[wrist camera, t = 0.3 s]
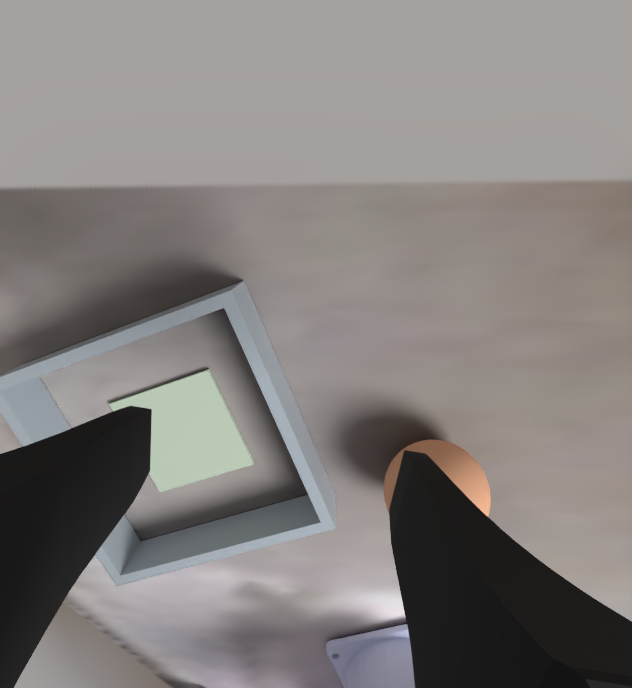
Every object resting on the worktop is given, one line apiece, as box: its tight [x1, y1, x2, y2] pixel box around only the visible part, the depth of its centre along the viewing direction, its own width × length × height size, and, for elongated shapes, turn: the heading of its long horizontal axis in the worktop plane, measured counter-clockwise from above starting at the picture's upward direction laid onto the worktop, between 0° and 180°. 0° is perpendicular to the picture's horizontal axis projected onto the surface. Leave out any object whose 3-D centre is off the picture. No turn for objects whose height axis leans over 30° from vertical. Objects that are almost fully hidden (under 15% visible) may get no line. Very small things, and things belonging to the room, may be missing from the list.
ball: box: [384, 440, 491, 517], centre depth 20 cm, size 5×5×5 cm
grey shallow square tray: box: [0, 281, 336, 586], centre depth 21 cm, size 13×13×2 cm
